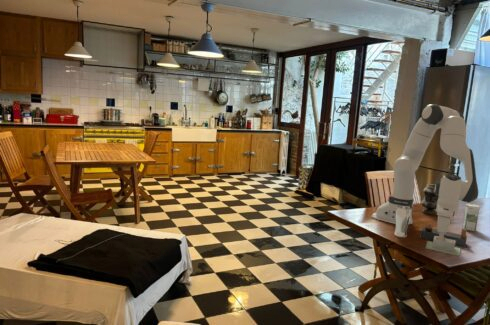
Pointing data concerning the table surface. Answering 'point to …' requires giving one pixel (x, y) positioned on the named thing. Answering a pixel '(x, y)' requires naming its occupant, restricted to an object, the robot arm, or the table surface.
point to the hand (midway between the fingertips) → (442, 236)
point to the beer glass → (402, 220)
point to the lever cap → (444, 243)
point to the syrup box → (471, 217)
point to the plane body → (430, 233)
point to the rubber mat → (456, 250)
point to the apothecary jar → (430, 199)
